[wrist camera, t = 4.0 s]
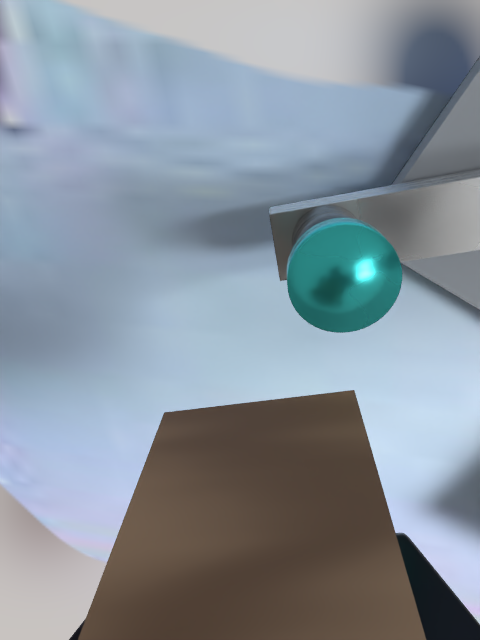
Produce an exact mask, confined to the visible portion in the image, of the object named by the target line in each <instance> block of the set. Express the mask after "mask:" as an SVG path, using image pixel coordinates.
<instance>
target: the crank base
mask: <svg viewBox="0 0 480 640" xmlns="http://www.w3.org/2000/svg"><path fill="white" fill-rule="evenodd" d="M479 169H480V57H479V58H478V60H477V61H476V63H475V64H474V66H473V67H472V68H471V70H470V71H469V73H468V74H467V76H466V77H465V78H464V80H463V81H462V83H461V84H460V86H459V87H458V89H457V90H456V92H455V93H454V94H453V96H452V97H451V99H450V100H449V102H448V103H447V105H446V106H445V108H444V109H443V110H442V112H441V113H440V115H439V116H438V118H437V119H436V121H435V122H434V124H433V125H432V126H431V128H430V129H429V131H428V132H427V134H426V135H425V137H424V138H423V140H422V141H421V142H420V144H419V145H418V147H417V148H416V150H415V151H414V153H413V154H412V155H411V157H410V158H409V160H408V161H407V163H406V164H405V166H404V167H403V169H402V170H401V171H400V173H399V174H398V176H397V177H396V179H395V180H394V182H393V183H392V185H395V184H401V183H406V182H412V181H417V180H423V179H428V178H434V177H440V176H445V175H451V174H456V173H462V172H467V171H473V170H479ZM400 263H402V264H404V265H405V266H407V267H409V268H410V269H412V270H414V271H415V272H417V273H419V274H420V275H422V276H424V277H425V278H427V279H429V280H430V281H432V282H434V283H435V284H437V285H439V286H440V287H442V288H444V289H445V290H447V291H449V292H450V293H452V294H454V295H456V296H457V297H459V298H461V299H462V300H464V301H466V302H467V303H469V304H471V305H472V306H474V307H476V308H477V309H479V310H480V250H476V251H469V252H463V253H456V254H450V255H443V256H437V257H431V258H424V259H418V260H411V261H405V262H400Z"/></svg>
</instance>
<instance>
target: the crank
mask: <svg viewBox="0 0 480 640" xmlns="http://www.w3.org/2000/svg"><path fill="white" fill-rule="evenodd" d="M269 216H270V222H271V228H272V234H273V240H274V246H275V253H276V259H277V265H278V271H279V277H280V281H282V280H287V285H288V293H289V297H290V300H291V302H292V304H293V306H294V308H295V309H296V311H297V312H298V313H299V315H300V316H301V317H302V318H303V319H304V320H306V321H307V322H308V323H310V324H311V325H313V326H315V327H317V328H320V329H322V330H326V331H330V332H352V331H357V330H360V329H363V328H365V327H367V326H370V325H371V324H373V323H375V322H376V321H378V320H379V319H380V318H382V317H383V316H384V315H385V314H386V313H387V312H388V311H389V309H390V308H391V307H392V306H393V304H394V302H395V301H396V299H397V296H398V294H399V291H400V288H401V283H402V268H401V263H400V262H405V261H411V260H418V259H424V258H431V257H437V256H443V255H450V254H456V253H463V252H469V251H476V250H480V169H479V170H473V171H467V172H462V173H456V174H451V175H445V176H440V177H434V178H428V179H423V180H417V181H412V182H406V183H401V184H395V185H389V186H384V187H378V188H373V189H367V190H362V191H356V192H350V193H345V194H339V195H334V196H328V197H323V198H317V199H311V200H306V201H300V202H295V203H289V204H284V205H278V206H272V207H270V212H269Z"/></svg>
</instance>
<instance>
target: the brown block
mask: <svg viewBox="0 0 480 640" xmlns="http://www.w3.org/2000/svg"><path fill="white" fill-rule="evenodd" d="M78 640H426V637H425V634H424V630H423V627H422V623H421V620H420V617H419V613H418V610H417V606H416V603H415V599H414V596H413V592H412V589H411V585H410V582H409V578H408V575H407V572H406V568H405V565H404V561H403V558H402V554H401V551H400V547H399V544H398V540H397V537H396V533H395V530H394V527H393V523H392V520H391V516H390V513H389V509H388V506H387V502H386V499H385V495H384V492H383V488H382V485H381V482H380V478H379V475H378V471H377V468H376V464H375V461H374V457H373V454H372V450H371V447H370V443H369V440H368V437H367V433H366V430H365V426H364V423H363V419H362V416H361V412H360V409H359V405H358V402H357V398H356V395H355V392H354V390H351V391H343V392H335V393H326V394H318V395H309V396H301V397H292V398H284V399H275V400H267V401H258V402H250V403H242V404H233V405H225V406H216V407H208V408H199V409H191V410H182V411H174V412H165V413H164V415H163V417H162V420H161V423H160V425H159V428H158V431H157V433H156V436H155V438H154V441H153V444H152V446H151V449H150V452H149V454H148V457H147V459H146V462H145V465H144V467H143V470H142V473H141V475H140V478H139V480H138V483H137V486H136V488H135V491H134V494H133V496H132V499H131V502H130V504H129V507H128V509H127V512H126V515H125V517H124V520H123V523H122V525H121V528H120V530H119V533H118V536H117V538H116V541H115V544H114V546H113V549H112V551H111V554H110V557H109V559H108V562H107V565H106V567H105V570H104V573H103V575H102V578H101V581H100V583H99V586H98V588H97V591H96V594H95V596H94V599H93V602H92V604H91V607H90V609H89V612H88V615H87V617H86V620H85V622H84V625H83V628H82V630H81V633H80V636H79V638H78Z"/></svg>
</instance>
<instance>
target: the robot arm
mask: <svg viewBox="0 0 480 640" xmlns="http://www.w3.org/2000/svg"><path fill="white" fill-rule="evenodd" d="M396 537H397V540H398V544H399V547H400V551H401V554H402V558H403V561H404V565H405V568H406V572H407V575H408V578H409V582H410V585H411V589H412V592H413V596H414V599H415V603H416V606H417V610H418V613H419V617H420V620H421V623H422V627H423V630H424V634H425V637H426V640H480V624H479V623H478V622H477V620H476V619H475V618H474V617H473V616H472V614H471V613H470V612H469V611H468V609H467V608H466V607H465V606H464V604H463V603H462V602H461V601H460V600H459V598H458V597H457V596H456V595H455V593H454V592H453V591H452V590H451V589H450V587H449V586H448V585H447V584H446V582H445V581H444V580H443V579H442V577H441V576H440V575H439V574H438V573H437V571H436V570H435V569H434V568H433V566H432V565H431V564H430V563H429V562H428V560H427V559H426V558H425V557H424V555H423V554H422V553H421V552H420V550H419V549H418V548H417V547H416V546H415V544H414V543H413V542H412V541H411V539H410V538H409V537H408V536H407V535H406V534H404V533H396ZM85 620H86V619H85ZM85 620H84V621H83V623H82V624H81V625H80V627H79V628H78V629H77V630H76V632H75V633H74V634H73V635H72V637H71V638H70V639H69V640H78V638H79V636H80V633H81V630H82V628H83V625H84V622H85Z"/></svg>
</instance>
